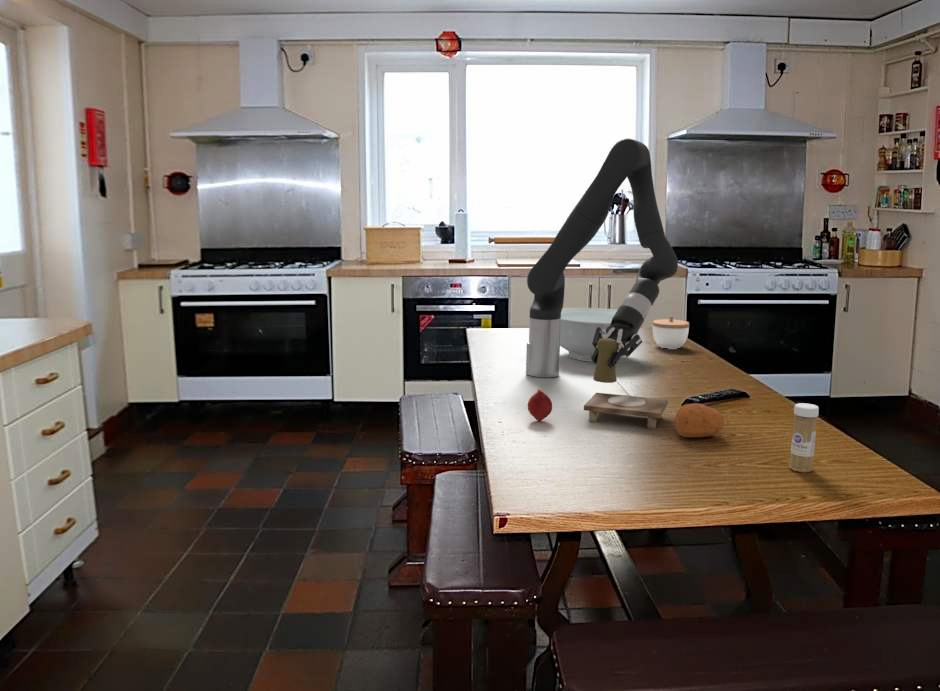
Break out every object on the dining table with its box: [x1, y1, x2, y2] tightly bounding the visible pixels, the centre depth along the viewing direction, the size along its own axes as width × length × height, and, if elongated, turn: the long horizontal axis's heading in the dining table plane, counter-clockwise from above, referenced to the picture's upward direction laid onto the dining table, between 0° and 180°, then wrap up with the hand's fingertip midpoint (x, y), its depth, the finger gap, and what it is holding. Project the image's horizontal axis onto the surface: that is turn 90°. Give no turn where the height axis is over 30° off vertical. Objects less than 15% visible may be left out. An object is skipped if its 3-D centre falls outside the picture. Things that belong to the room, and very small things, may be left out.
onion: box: [527, 387, 553, 422], centre depth 208 cm, size 6×6×8 cm
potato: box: [673, 402, 725, 439], centre depth 198 cm, size 9×11×8 cm
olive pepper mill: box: [593, 338, 617, 384], centre depth 226 cm, size 6×6×11 cm
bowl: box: [560, 307, 639, 362], centre depth 285 cm, size 32×32×15 cm
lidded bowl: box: [652, 315, 690, 350], centre depth 305 cm, size 13×13×11 cm
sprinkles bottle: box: [788, 402, 820, 473], centre depth 175 cm, size 5×5×14 cm
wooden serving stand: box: [583, 392, 669, 430], centre depth 212 cm, size 18×14×5 cm
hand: (601, 363), depth 225 cm, fingers closed on olive pepper mill, 4 cm apart
